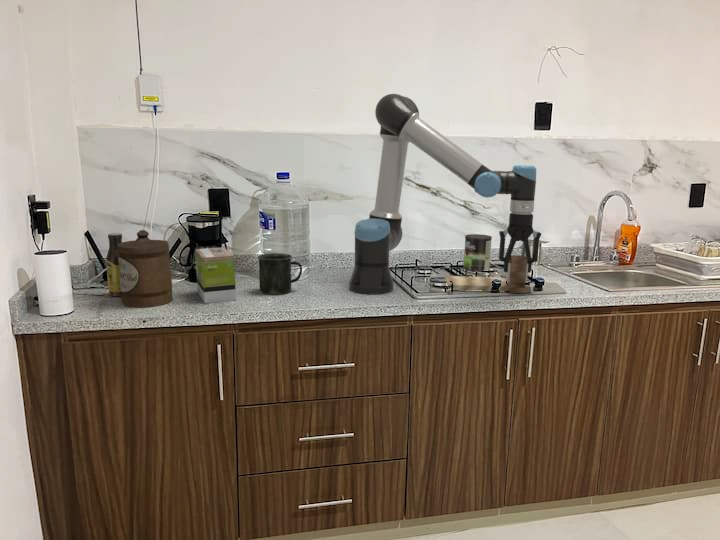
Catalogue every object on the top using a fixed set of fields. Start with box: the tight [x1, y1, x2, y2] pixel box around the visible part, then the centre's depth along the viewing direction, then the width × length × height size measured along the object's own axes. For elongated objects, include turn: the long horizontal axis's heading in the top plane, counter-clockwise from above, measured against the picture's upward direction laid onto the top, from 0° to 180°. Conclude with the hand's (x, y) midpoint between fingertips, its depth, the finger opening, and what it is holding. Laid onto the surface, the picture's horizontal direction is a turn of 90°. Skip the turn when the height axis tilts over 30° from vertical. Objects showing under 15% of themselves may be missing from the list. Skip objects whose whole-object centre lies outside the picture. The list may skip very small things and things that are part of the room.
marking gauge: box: [507, 254, 527, 294], centre depth 194 cm, size 5×13×12 cm, turn 176°
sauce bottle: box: [105, 232, 123, 297], centre depth 179 cm, size 6×6×20 cm
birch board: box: [444, 275, 532, 294], centre depth 198 cm, size 28×14×2 cm, turn 86°
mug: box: [257, 252, 303, 296], centre depth 187 cm, size 11×15×12 cm
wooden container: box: [117, 229, 174, 308], centre depth 172 cm, size 15×15×22 cm
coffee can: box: [463, 233, 493, 272], centre depth 222 cm, size 10×10×14 cm
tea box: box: [194, 246, 237, 304], centre depth 179 cm, size 15×10×15 cm
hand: (516, 281), depth 191 cm, fingers closed on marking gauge, 5 cm apart
